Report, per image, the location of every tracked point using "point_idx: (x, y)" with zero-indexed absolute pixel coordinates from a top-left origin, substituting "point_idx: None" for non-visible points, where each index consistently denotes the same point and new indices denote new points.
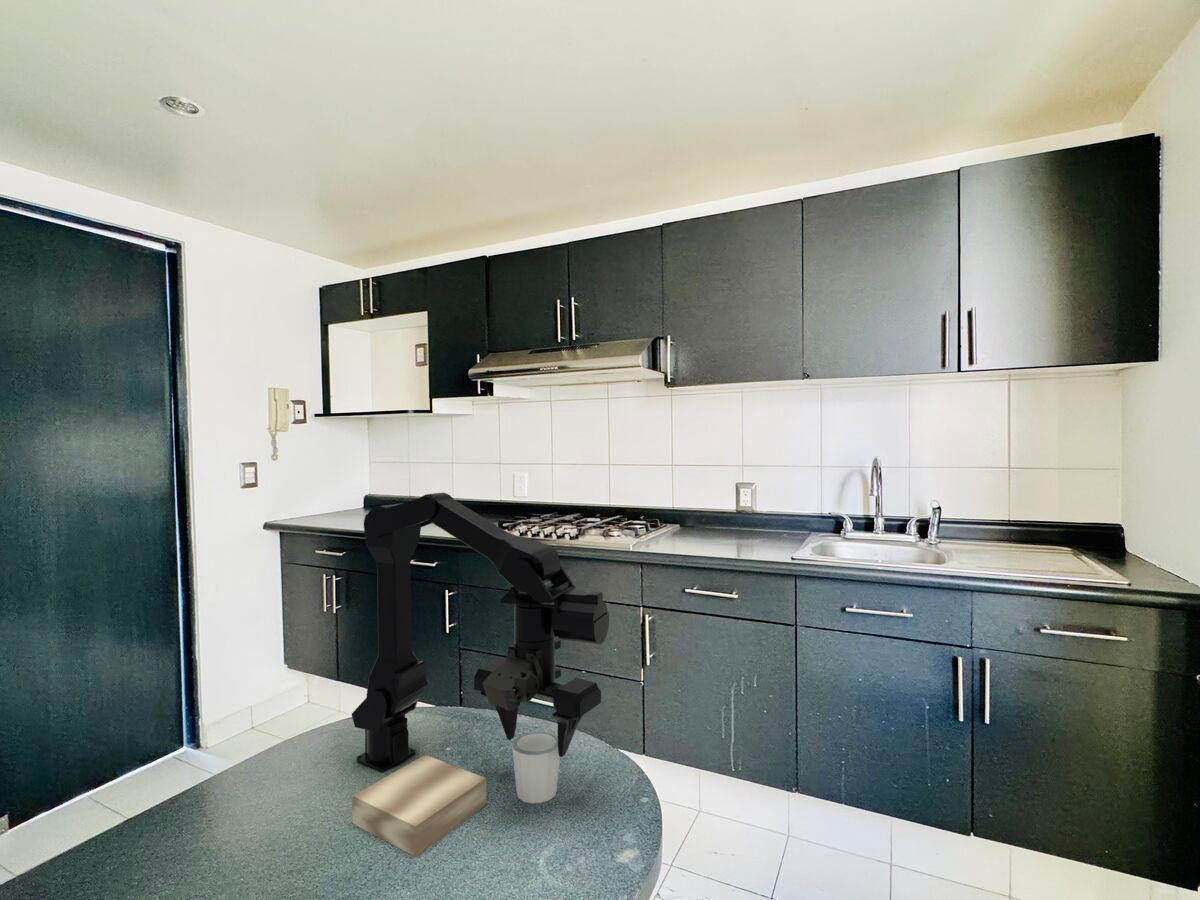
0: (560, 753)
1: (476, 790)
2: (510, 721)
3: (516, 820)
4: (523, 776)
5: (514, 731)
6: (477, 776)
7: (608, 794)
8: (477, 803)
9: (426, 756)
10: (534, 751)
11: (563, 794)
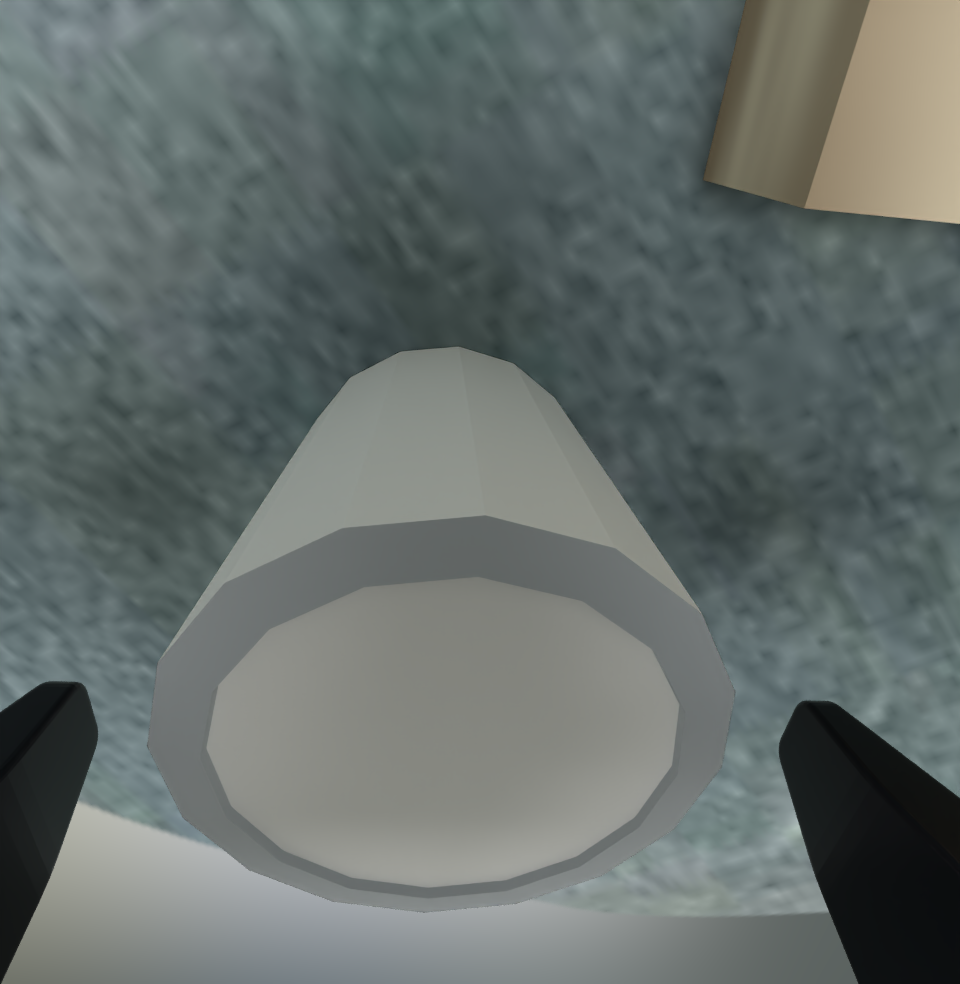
0: (18, 709)
1: (825, 30)
2: (917, 921)
3: (359, 109)
4: (451, 410)
5: (801, 808)
6: (912, 190)
7: (44, 629)
8: (758, 60)
9: None
10: (334, 620)
11: None
